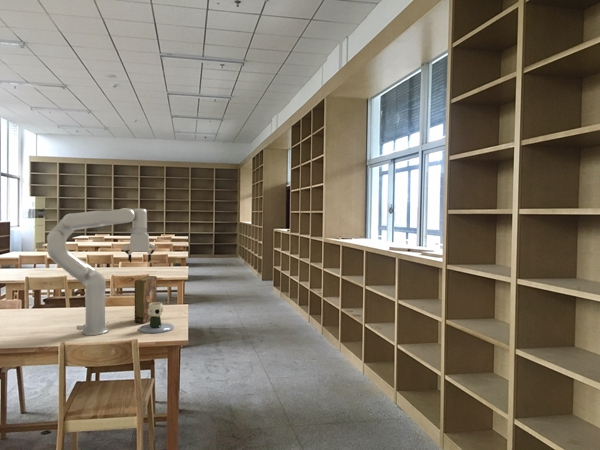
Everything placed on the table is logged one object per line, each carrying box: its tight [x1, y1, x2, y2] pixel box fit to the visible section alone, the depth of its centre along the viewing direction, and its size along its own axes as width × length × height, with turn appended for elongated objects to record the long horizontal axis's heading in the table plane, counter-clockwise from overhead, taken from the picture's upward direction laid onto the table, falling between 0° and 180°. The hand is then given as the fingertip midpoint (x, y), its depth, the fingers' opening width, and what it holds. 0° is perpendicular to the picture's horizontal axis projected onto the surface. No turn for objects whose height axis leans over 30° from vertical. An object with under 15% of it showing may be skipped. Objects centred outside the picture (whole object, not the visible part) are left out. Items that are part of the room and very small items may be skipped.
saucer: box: [138, 322, 175, 334], centre depth 260 cm, size 18×18×1 cm
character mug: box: [148, 302, 164, 328], centre depth 259 cm, size 11×7×13 cm, turn 152°
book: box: [134, 275, 158, 324], centre depth 278 cm, size 16×6×25 cm, turn 168°
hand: (139, 262), depth 262 cm, fingers open, 9 cm apart
